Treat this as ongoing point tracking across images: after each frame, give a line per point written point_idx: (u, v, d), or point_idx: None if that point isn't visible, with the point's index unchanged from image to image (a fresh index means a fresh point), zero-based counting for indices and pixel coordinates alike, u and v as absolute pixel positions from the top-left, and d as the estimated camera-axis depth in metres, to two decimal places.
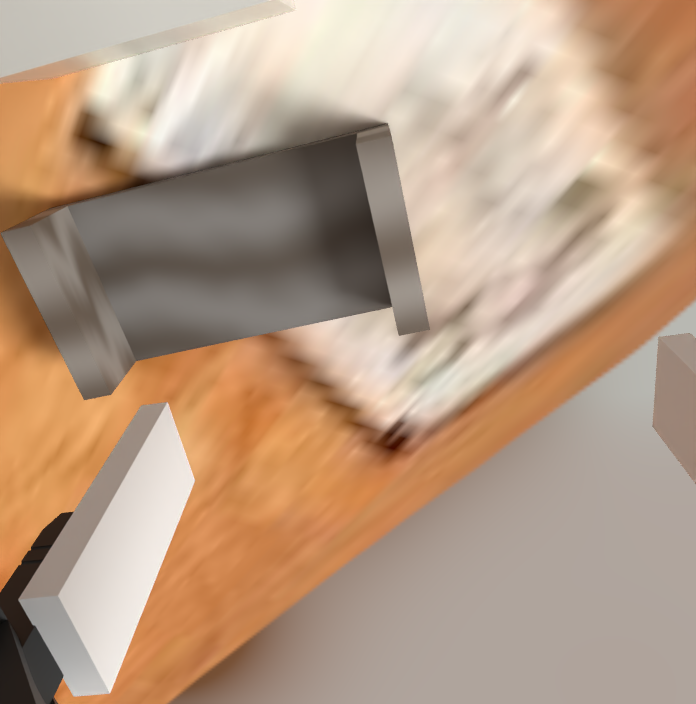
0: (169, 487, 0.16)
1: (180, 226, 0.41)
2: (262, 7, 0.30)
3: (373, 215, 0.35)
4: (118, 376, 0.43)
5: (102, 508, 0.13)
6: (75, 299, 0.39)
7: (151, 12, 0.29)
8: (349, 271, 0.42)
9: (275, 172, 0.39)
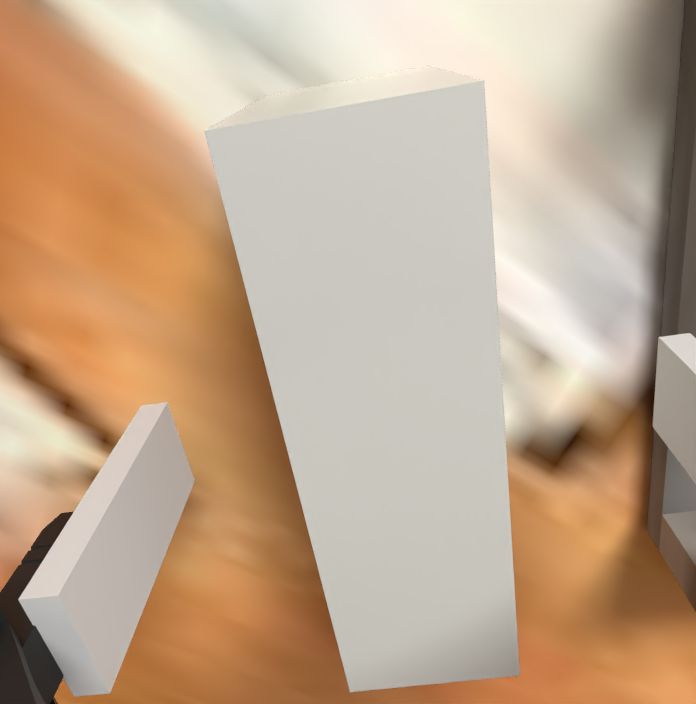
0: (169, 487, 0.16)
1: None
2: None
3: None
4: None
5: (102, 508, 0.13)
6: None
7: (460, 381, 0.13)
8: None
9: None
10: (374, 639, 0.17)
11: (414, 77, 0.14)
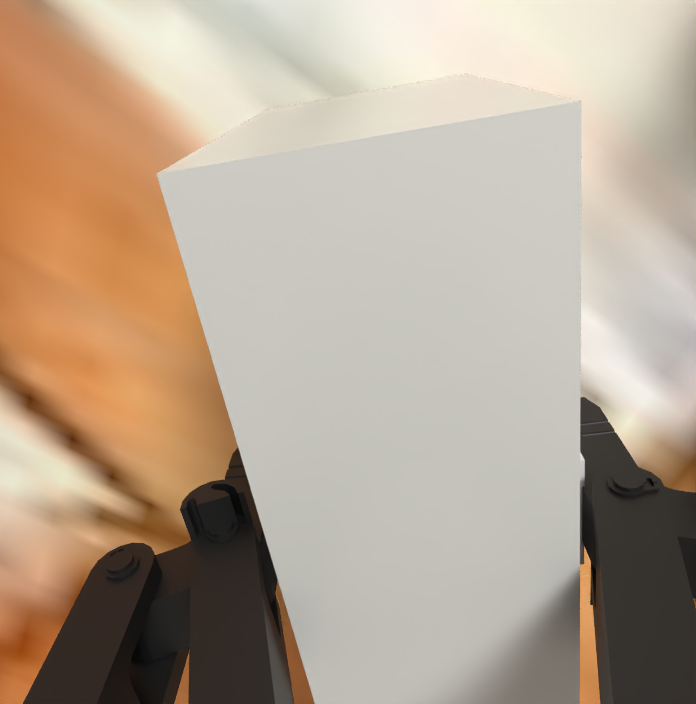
0: None
1: None
2: None
3: None
4: None
5: None
6: None
7: (521, 513, 0.09)
8: None
9: None
10: None
11: (457, 91, 0.11)
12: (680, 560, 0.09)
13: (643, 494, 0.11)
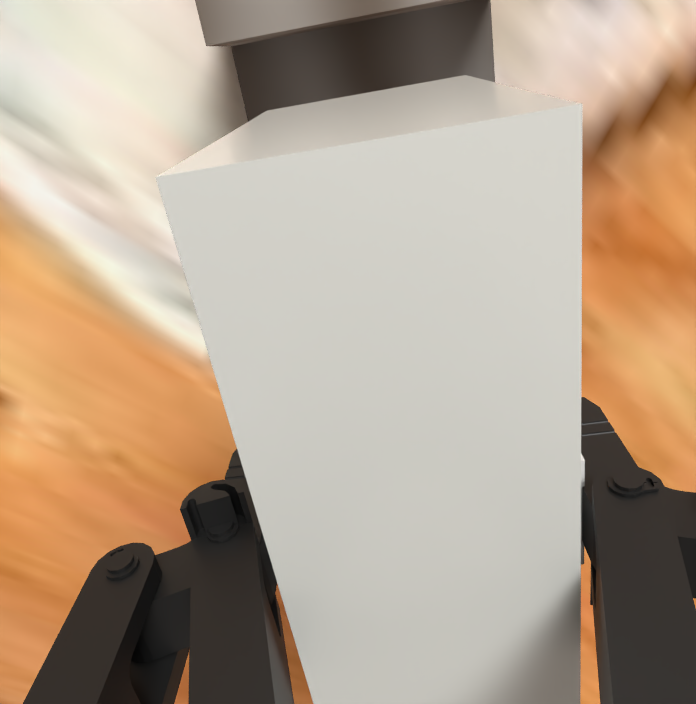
0: None
1: None
2: None
3: (307, 23, 0.23)
4: None
5: None
6: None
7: (522, 517, 0.09)
8: (423, 72, 0.29)
9: None
10: None
11: (457, 93, 0.11)
12: (680, 560, 0.09)
13: (643, 494, 0.11)
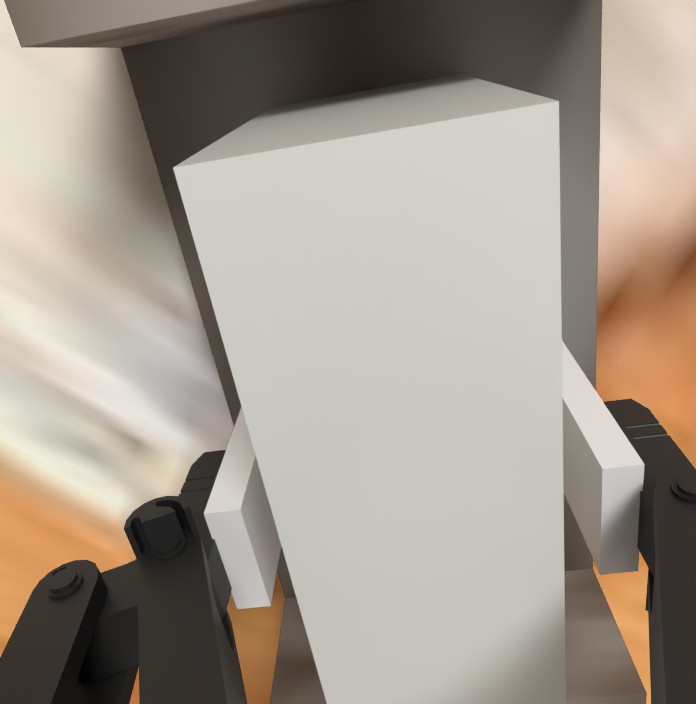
0: None
1: None
2: None
3: None
4: (611, 642, 0.20)
5: None
6: None
7: (509, 485, 0.10)
8: None
9: None
10: None
11: (450, 91, 0.11)
12: None
13: None
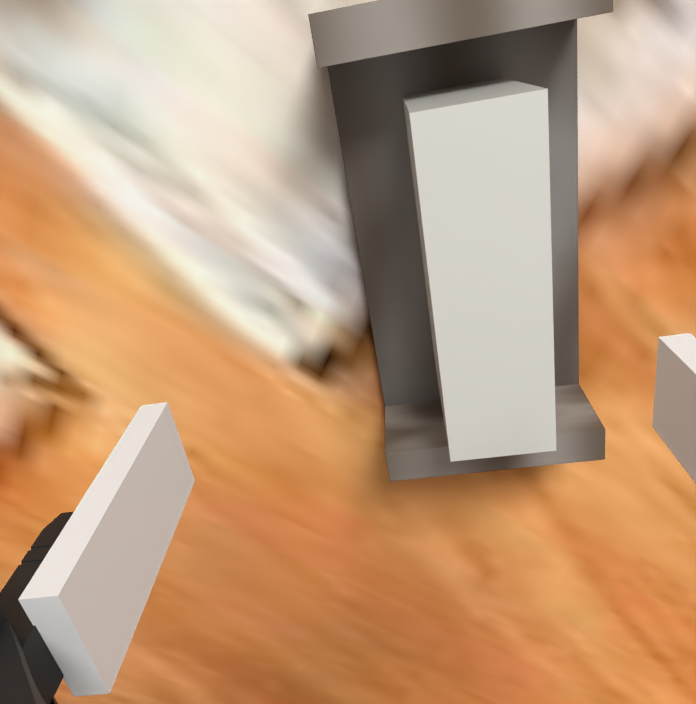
0: (169, 487, 0.16)
1: (419, 299, 0.35)
2: None
3: (413, 47, 0.25)
4: (587, 412, 0.34)
5: (102, 508, 0.13)
6: None
7: (529, 249, 0.24)
8: None
9: (367, 177, 0.32)
10: (468, 422, 0.28)
11: (503, 86, 0.26)
12: None
13: None
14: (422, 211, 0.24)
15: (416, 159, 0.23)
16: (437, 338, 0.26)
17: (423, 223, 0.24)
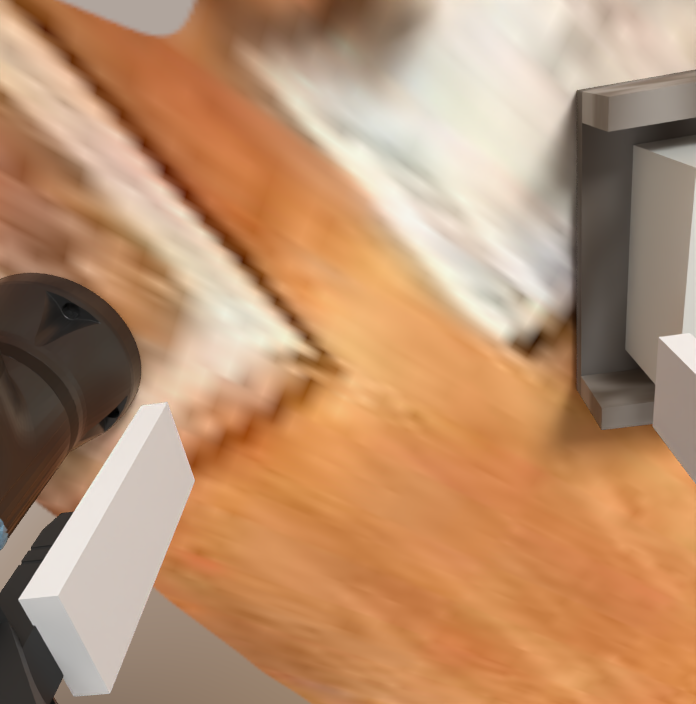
0: (169, 487, 0.16)
1: (621, 292, 0.47)
2: None
3: (677, 118, 0.36)
4: None
5: (102, 508, 0.13)
6: None
7: None
8: None
9: (597, 203, 0.44)
10: None
11: None
12: None
13: None
14: (691, 231, 0.36)
15: (695, 197, 0.35)
16: (684, 318, 0.38)
17: (690, 239, 0.36)
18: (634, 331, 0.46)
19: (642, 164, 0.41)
